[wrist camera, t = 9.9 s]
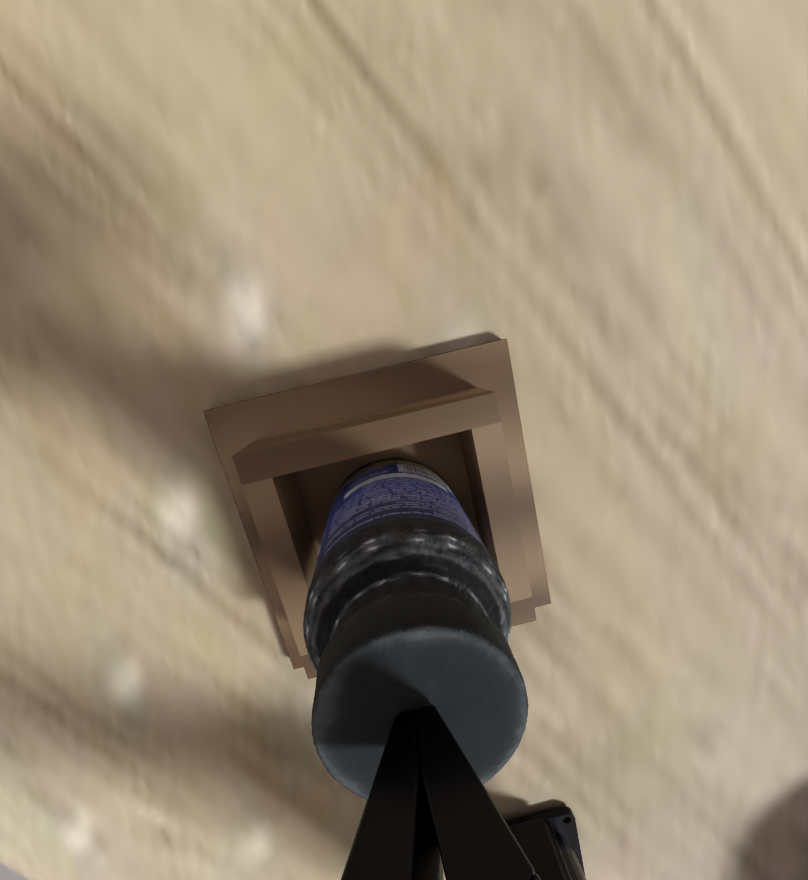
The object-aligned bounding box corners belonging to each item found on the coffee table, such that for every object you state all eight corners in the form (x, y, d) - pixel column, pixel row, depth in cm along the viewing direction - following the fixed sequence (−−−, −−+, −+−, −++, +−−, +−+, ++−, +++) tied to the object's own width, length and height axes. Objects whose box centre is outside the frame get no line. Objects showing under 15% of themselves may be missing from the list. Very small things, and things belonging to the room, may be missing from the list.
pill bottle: (305, 499, 18) (208, 697, 8) (413, 429, 18) (471, 533, 7) (377, 593, 20) (381, 878, 9) (479, 530, 19) (609, 745, 9)
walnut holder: (546, 596, 21) (580, 643, 18) (296, 660, 21) (280, 722, 17) (502, 339, 18) (533, 334, 15) (208, 409, 18) (168, 421, 14)
